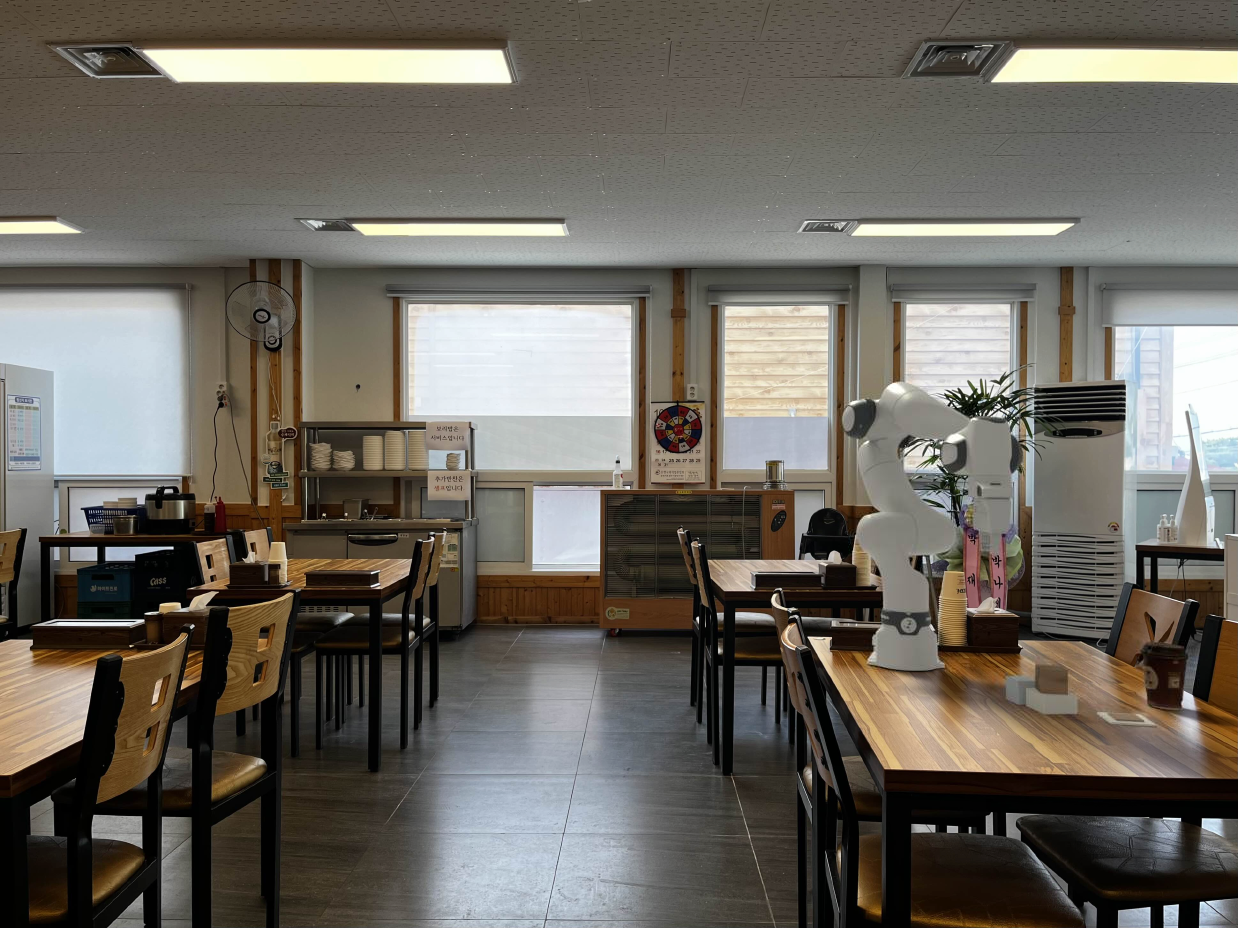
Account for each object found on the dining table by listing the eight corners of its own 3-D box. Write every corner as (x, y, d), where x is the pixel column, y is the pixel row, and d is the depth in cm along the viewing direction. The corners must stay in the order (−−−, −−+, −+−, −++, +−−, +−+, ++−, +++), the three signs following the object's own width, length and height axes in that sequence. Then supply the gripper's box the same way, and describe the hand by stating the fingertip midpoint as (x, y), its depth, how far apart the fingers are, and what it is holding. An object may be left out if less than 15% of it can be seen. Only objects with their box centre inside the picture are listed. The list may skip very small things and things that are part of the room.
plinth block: (1025, 707, 189) (1025, 687, 189) (1058, 706, 190) (1058, 687, 190) (1044, 715, 182) (1044, 695, 182) (1077, 715, 183) (1077, 695, 183)
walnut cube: (1035, 688, 189) (1035, 663, 189) (1061, 689, 188) (1060, 665, 188) (1041, 693, 184) (1041, 668, 184) (1067, 694, 183) (1067, 669, 183)
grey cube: (1006, 699, 195) (1005, 676, 195) (1028, 699, 196) (1028, 675, 196) (1018, 704, 190) (1018, 680, 190) (1041, 704, 191) (1041, 680, 191)
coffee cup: (1144, 709, 187) (1143, 645, 187) (1136, 700, 195) (1136, 639, 195) (1193, 713, 184) (1192, 648, 184) (1183, 704, 192) (1182, 642, 192)
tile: (1096, 713, 183) (1096, 710, 183) (1140, 716, 181) (1140, 712, 181) (1110, 723, 175) (1110, 720, 175) (1155, 726, 173) (1155, 722, 173)
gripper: (965, 489, 210) (965, 549, 209) (984, 489, 190) (984, 555, 189) (994, 489, 209) (994, 549, 208) (1016, 489, 188) (1016, 556, 188)
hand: (989, 552), depth 199 cm, fingers open, 8 cm apart
